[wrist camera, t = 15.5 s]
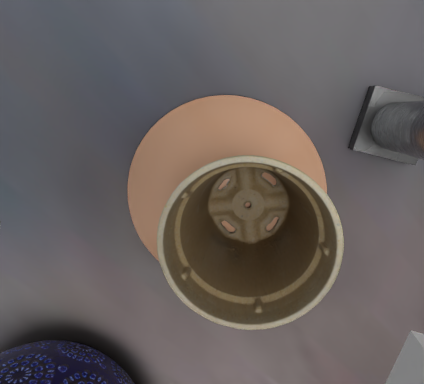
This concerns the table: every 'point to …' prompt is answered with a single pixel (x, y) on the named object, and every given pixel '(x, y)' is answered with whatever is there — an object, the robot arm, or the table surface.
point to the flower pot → (250, 243)
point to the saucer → (211, 152)
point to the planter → (59, 365)
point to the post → (390, 126)
